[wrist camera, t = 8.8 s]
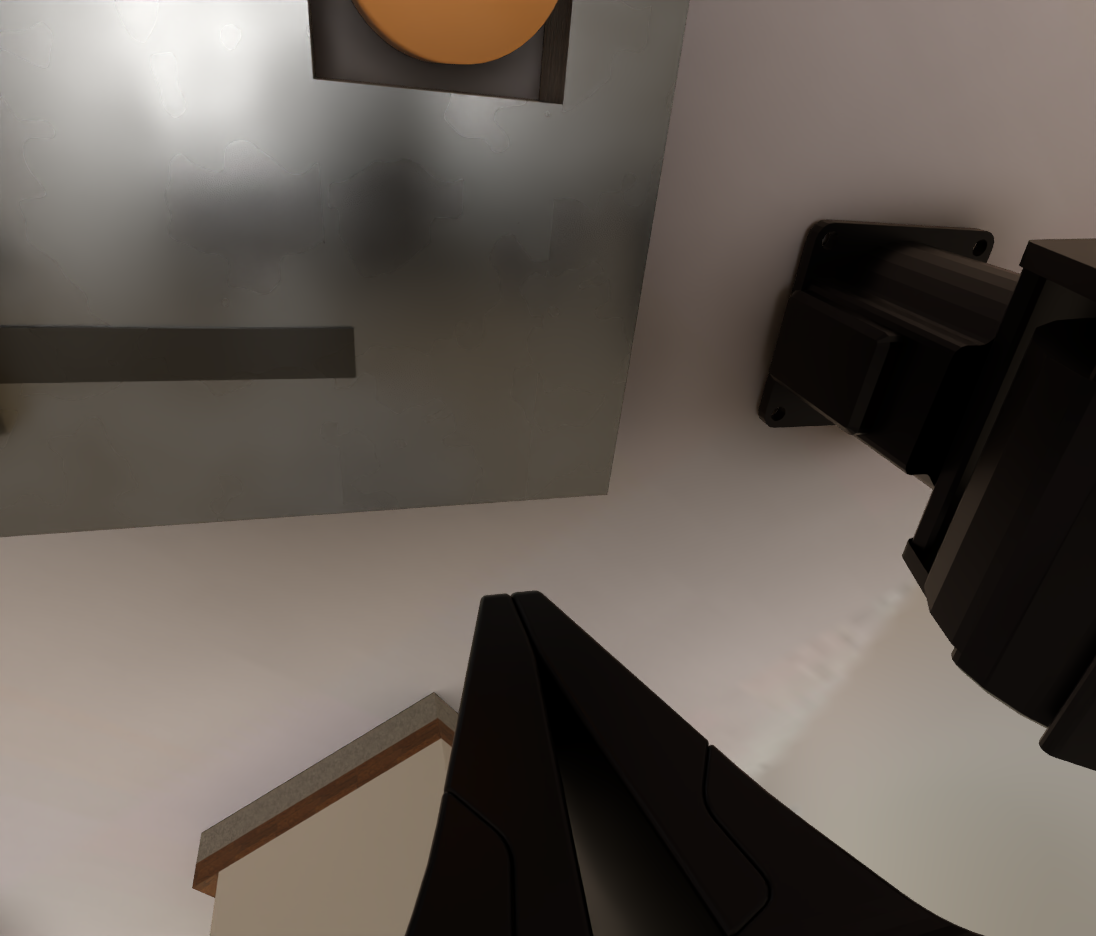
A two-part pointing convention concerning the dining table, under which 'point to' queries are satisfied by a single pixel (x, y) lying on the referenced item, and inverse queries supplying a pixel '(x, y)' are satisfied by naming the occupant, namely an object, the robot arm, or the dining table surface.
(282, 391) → the plate
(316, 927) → the beige tower stand
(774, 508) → the dining table surface
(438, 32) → the orange push button
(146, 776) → the dining table surface
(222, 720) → the dining table surface
